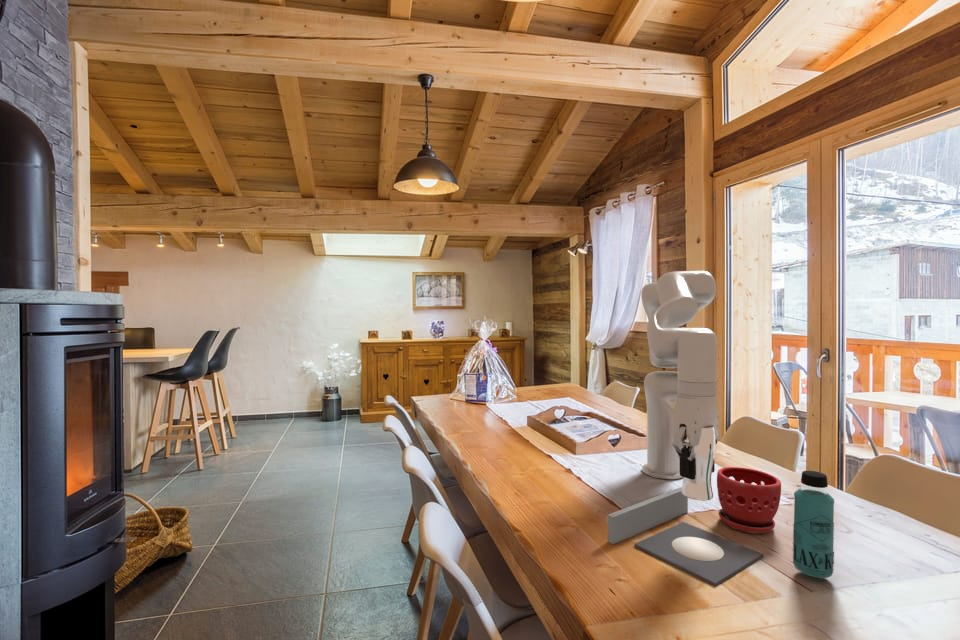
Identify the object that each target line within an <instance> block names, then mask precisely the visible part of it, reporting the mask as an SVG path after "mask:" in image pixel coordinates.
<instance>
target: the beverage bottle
mask: <svg viewBox="0 0 960 640" xmlns="http://www.w3.org/2000/svg"><path fill="white" fill-rule="evenodd" d="M800 482H801V484H802V485H805V486H803V487H800V488H798V489H797V490H795V491H794V493H793V494H794V502H793V503H794V509H793V524H792V527H793V531H792V539H793V540H792V544H793V545H792V562H793V565H794V568H795V569H796V570H797V571H798V572H801V573H802V574H805V575H807V576H810V577H814V578H817V579H827V578H830V577H832V576H833V573H834V570H835V561H834V557H835V551H834V540H835V537H834V536H835V535H834V533H835V531H834V530H835V523H834V520H835V519H834V515H835V513H834V512H835V511H834V508H835V506H834V505H835V499H834V497H833V496H832V495H831V494H829V493H828V492H827V491H825V490H824V489H825V488H828V485H829V484H828V477H827V474H825V473H823V472H821V471H815V470H803V471H802V472H801V479H800Z"/></svg>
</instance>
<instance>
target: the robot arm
mask: <svg viewBox="0 0 960 640" xmlns="http://www.w3.org/2000/svg"><path fill="white" fill-rule="evenodd" d="M716 293H717V284H716V280H715V278H714V276H713V274H711V273H710V272H708V271H707V270H706V271H705V270H683V271H682V270H681V271H679V270H678V271H669V272H666V273H664V274H662V275H661V276H660V277H659V278H658V280H657V281H656V282H650V283H647V284H645V285H644V286H643V287H642V289H641V294H640V295H641V303H642V307H643V309H644V311H645V314H646V317H647V320H648V321H647V325H646V337H647V344H648V353H649V354H648V356H649V360H650V361H649V362H650V363H651V365H652V366H654V367H657V368H666V369H667V368H669V369H677V371H674V370H673V371H672V370H671V371H669V370H663V371H662V370H657V371H651V372H649V373H648V374H646V376H645V377H644V379H643V388H644V396H645V402H646V423H647V424H646V429H647V430H646V433H647V434H646V438H647V439H646V441H647V443H646V446H647V447H646V452H647V453H646V454H647V455H646V457H647V463H644V464H643V465H642V467H641V468H642V469H641V470H642V472H643V473H644V474H645V475H647V476H650V477H653V478H657V479H661V480H679V479H683V477H685V478H688V479H692V480H694V479H695V460H693V457H694V453H695V452H694V448H695V446H698V445H699V441H700V436H701V431H702V428H709V427H712V426H713V425H714V430H715V444H716V445H717V444H718V439H719V437H720V436H721V435H720V434H721V430H719V409H718V402H717V401H718V400H717V397H718V348H719V347H718V345H719V343H718V338H717V334H716V333H715V332H714V331H712V330H711V329H710V328H706V327H682V326H684V325H686V324H688V323H690V322H691V321H693V320H694V319H695V318H696V316H697V315H698V312H699V311H701V310H703V309H705V308H706V307H707V306H709V305H710V304H711V303H712V302H713V300H714V299H715V296H716ZM671 404H674V407H673V406H672V405H671ZM686 435H687V437H688V439H689V440H690V443H689V444H688V443H684V439H685V437H686ZM684 446H688V447H690V449H689V452H688V451H687V449H686V448H684ZM716 452H717V448H715V453H716ZM712 473H715V463H714V464H713V469H712Z"/></svg>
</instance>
